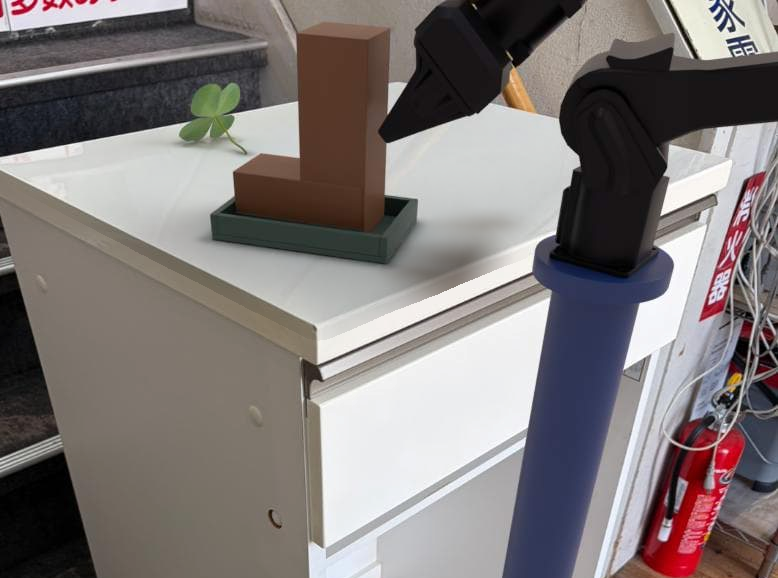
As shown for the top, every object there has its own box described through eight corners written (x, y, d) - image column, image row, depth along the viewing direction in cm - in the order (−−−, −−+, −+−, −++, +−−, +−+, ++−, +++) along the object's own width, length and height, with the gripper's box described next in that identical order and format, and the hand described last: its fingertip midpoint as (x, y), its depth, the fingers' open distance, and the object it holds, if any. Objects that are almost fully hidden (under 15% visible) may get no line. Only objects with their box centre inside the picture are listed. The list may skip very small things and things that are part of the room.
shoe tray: (416, 222, 72) (418, 198, 70) (386, 264, 64) (387, 238, 63) (258, 202, 75) (256, 178, 73) (212, 239, 67) (209, 214, 66)
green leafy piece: (228, 196, 90) (194, 151, 91) (284, 146, 89) (249, 100, 89) (200, 169, 83) (164, 120, 84) (260, 114, 82) (223, 64, 82)
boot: (384, 217, 71) (391, 27, 62) (363, 240, 67) (367, 40, 58) (262, 200, 73) (252, 14, 64) (234, 221, 69) (219, 26, 60)
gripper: (518, -168, 57) (364, 10, 67) (463, -173, 44) (278, 51, 53) (611, -24, 61) (451, 125, 70) (587, 13, 47) (393, 193, 56)
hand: (399, 121), depth 62 cm, fingers open, 9 cm apart
